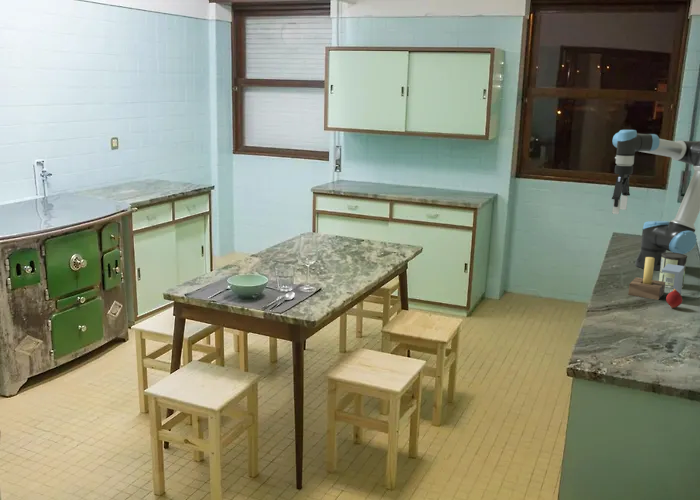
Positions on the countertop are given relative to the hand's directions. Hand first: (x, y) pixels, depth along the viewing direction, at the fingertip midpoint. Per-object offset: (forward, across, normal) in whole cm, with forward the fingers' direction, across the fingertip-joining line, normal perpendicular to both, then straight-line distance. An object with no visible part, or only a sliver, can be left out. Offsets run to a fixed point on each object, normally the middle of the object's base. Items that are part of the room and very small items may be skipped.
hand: (619, 211), depth 299 cm
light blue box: (+32, +16, +27) cm, 45 cm away
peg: (+32, +16, +18) cm, 40 cm away
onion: (+32, +30, +31) cm, 54 cm away
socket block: (+32, +16, +18) cm, 40 cm away
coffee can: (+32, -5, +24) cm, 40 cm away
